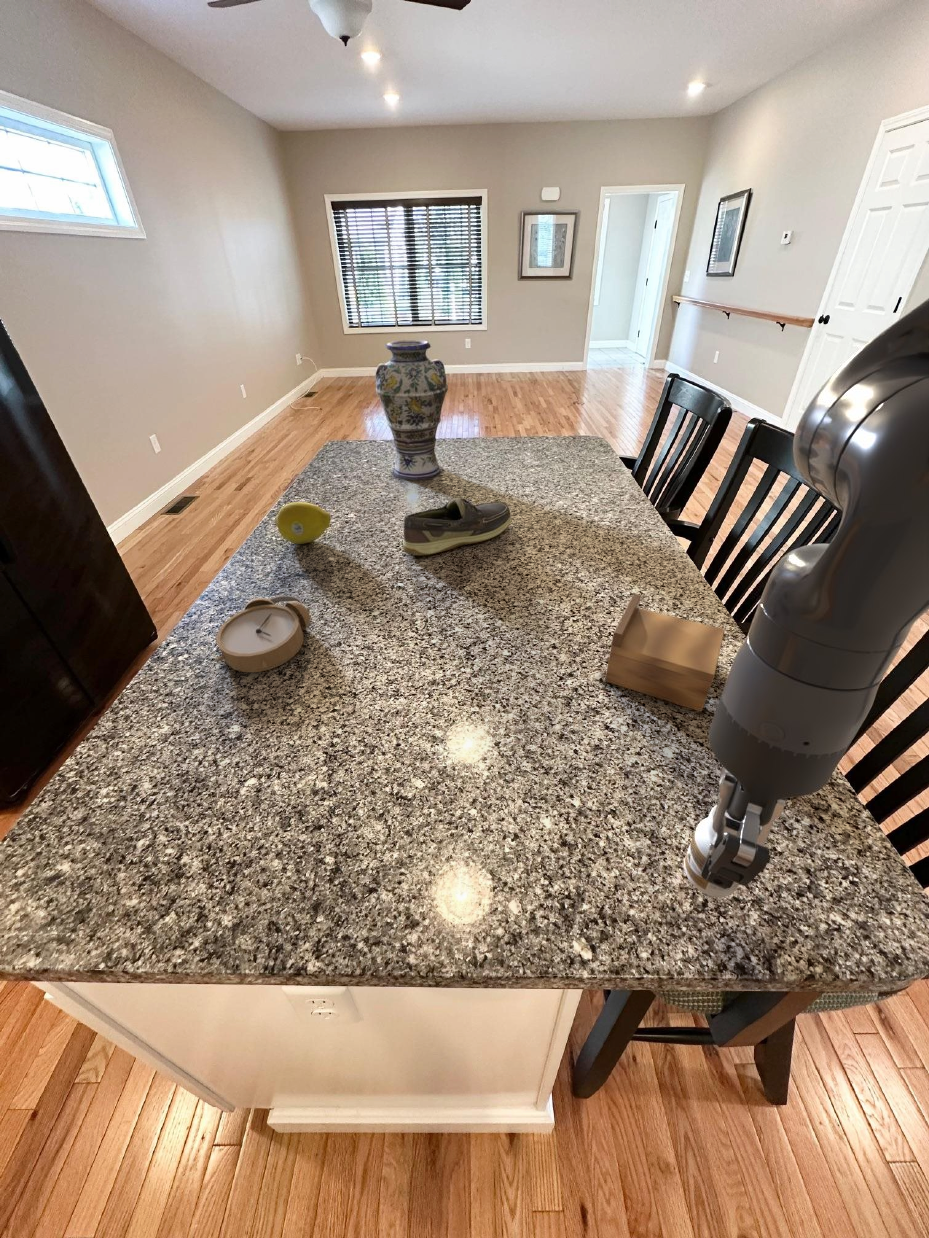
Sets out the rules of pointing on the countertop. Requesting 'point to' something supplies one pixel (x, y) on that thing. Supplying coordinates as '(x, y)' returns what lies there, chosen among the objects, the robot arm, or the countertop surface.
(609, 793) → the countertop surface
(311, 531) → the lemon
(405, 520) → the boat shoe
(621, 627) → the shelf
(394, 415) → the vase
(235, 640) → the alarm clock
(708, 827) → the pill bottle
